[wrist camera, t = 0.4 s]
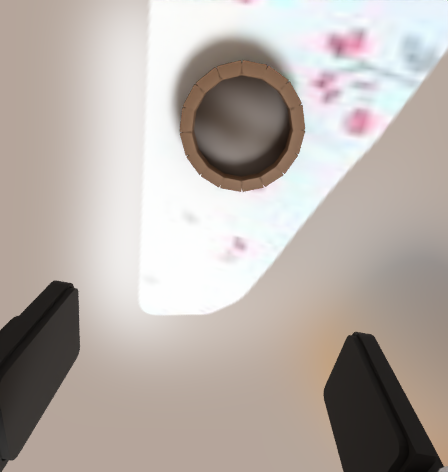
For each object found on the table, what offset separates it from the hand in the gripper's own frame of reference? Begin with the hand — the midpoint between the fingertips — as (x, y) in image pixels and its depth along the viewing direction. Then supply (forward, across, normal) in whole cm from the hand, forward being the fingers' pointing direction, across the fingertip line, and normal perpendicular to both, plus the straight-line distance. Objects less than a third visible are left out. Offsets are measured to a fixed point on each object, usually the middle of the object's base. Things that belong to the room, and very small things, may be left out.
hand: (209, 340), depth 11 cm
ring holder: (+29, 0, -4) cm, 30 cm away
